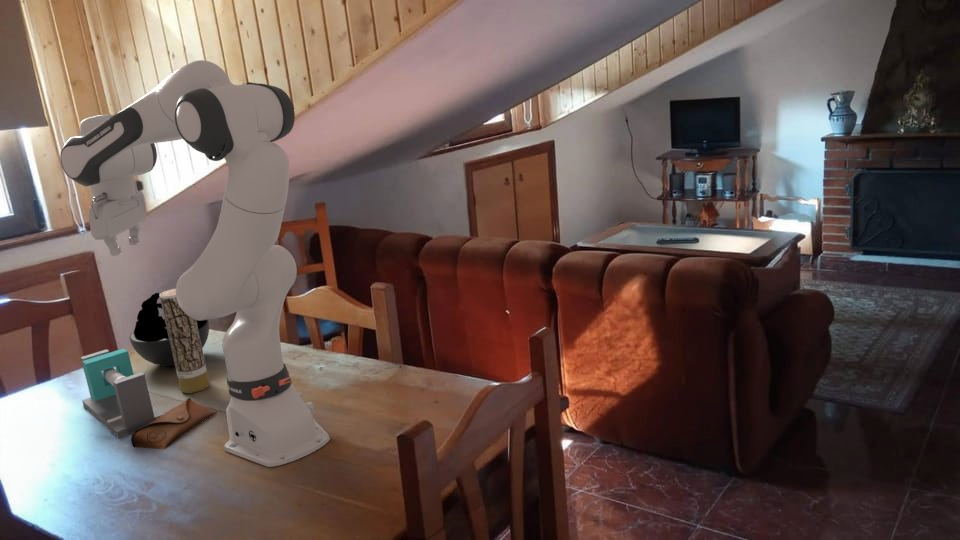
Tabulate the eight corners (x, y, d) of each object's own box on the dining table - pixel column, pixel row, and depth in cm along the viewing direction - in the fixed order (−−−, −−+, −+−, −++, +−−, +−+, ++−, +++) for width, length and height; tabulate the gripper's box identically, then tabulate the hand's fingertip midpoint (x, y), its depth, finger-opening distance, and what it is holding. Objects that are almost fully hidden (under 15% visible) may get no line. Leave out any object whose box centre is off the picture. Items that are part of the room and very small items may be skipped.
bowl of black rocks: (211, 369, 193) (197, 301, 188) (130, 383, 189) (113, 314, 184) (219, 344, 212) (206, 281, 207) (145, 356, 208) (130, 293, 203)
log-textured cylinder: (203, 393, 179) (182, 295, 172) (176, 395, 179) (154, 297, 172) (213, 381, 185) (194, 286, 179) (187, 383, 186) (166, 289, 179)
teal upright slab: (136, 387, 175) (128, 351, 173) (95, 401, 169) (86, 364, 167) (132, 384, 177) (123, 348, 175) (91, 397, 171) (82, 361, 169)
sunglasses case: (163, 450, 152) (144, 424, 151) (144, 463, 155) (125, 437, 154) (220, 411, 168) (203, 387, 168) (201, 423, 171) (185, 399, 171)
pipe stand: (165, 420, 166) (153, 371, 163) (118, 438, 160) (106, 387, 156) (126, 391, 185) (115, 346, 182) (83, 406, 178) (71, 360, 175)
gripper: (105, 197, 154) (119, 260, 158) (146, 180, 174) (157, 237, 178) (75, 199, 154) (89, 262, 158) (119, 182, 174) (131, 239, 178)
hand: (125, 249), depth 168 cm, fingers open, 8 cm apart
